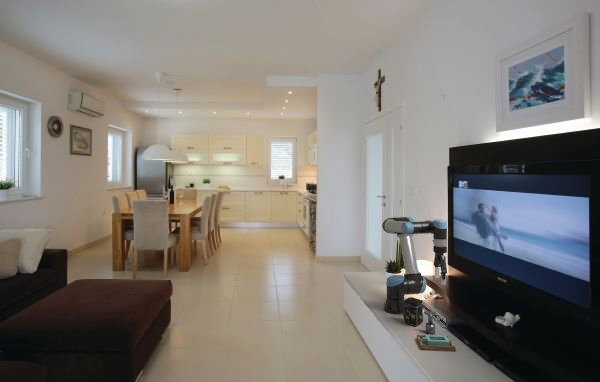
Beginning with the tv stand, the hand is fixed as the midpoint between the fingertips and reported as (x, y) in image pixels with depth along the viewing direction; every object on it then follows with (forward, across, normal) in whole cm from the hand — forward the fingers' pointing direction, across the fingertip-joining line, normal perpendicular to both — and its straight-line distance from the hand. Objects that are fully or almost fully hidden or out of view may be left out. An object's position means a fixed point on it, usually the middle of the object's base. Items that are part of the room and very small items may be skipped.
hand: (440, 281), depth 210 cm
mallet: (+29, +6, -7) cm, 30 cm away
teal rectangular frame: (+28, +21, -8) cm, 36 cm away
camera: (+29, -7, -15) cm, 33 cm away
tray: (+29, +21, -8) cm, 36 cm away
